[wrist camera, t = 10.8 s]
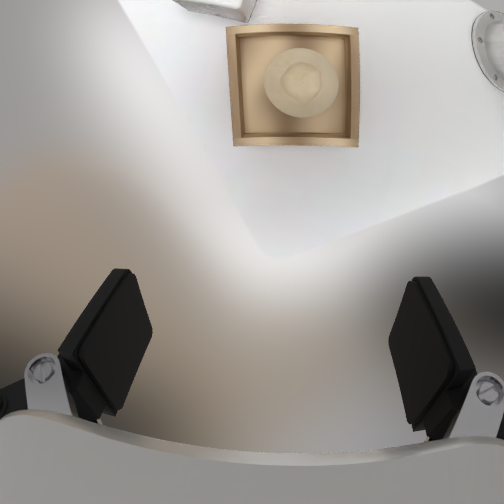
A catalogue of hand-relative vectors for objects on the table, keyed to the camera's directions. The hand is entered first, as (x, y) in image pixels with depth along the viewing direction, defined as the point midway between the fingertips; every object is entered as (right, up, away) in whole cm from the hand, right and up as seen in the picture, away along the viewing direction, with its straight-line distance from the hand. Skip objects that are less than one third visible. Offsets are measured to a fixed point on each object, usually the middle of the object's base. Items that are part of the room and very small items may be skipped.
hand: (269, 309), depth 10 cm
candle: (+4, +19, +17) cm, 26 cm away
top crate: (+4, +19, +17) cm, 26 cm away
